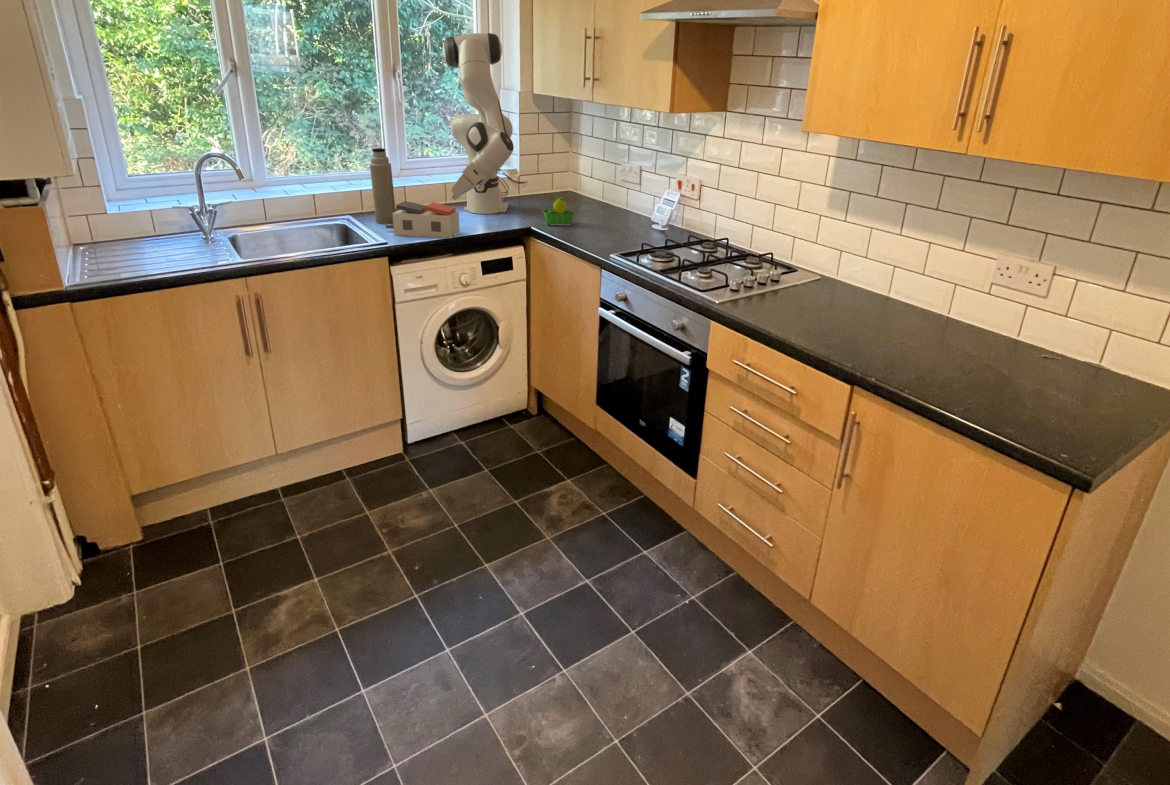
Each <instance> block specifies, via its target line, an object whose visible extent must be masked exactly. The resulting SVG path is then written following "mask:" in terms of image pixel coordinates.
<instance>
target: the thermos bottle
mask: <svg viewBox="0 0 1170 785" xmlns="http://www.w3.org/2000/svg"><path fill="white" fill-rule="evenodd" d="M371 151H372V157H371V158H370V164H369V170H370V171H369V172H370V178H371V179H370V180H371V181H370V182H371V189H372V196H373V205H374V206H373V207H374V216H375V217H374V218H375V223H376V224H379V225H386V224H391V223H392V224H393V214H392V213H394V212H396V211H397V210H396V203H395V193H394V184H393V183H394V182H393V172H392V171H393V170H392V163H390V160H389V157H388V156H387V155H386V148H380V147H378V148H377V147H375V148H371Z"/></svg>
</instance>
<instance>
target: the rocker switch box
mask: <svg viewBox="0 0 1170 785" xmlns="http://www.w3.org/2000/svg"><path fill="white" fill-rule="evenodd" d="M395 211H396V212H394V213H392V214H393V223H392V224H385V229H393V232H394V236H404V235H408V236H407V237H421V236H426V238H438V237H449V238H448V239H452V238H454V237H455V236H456V235H455V234H457V233H458V232H459V233H460V232H461V231H460V213H459V210H455V212H453V213H452V214H450V215H449V216H447V215H443V214H435V212H430V211H424V212H422V213H420V214H417V213H413V212H410V213H407V212H406V211H404V210H399V209H397V210H395ZM459 233H458V234H459ZM458 234H457V235H458ZM454 235H455V236H454ZM453 236H454V237H453ZM451 237H452V238H451Z"/></svg>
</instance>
